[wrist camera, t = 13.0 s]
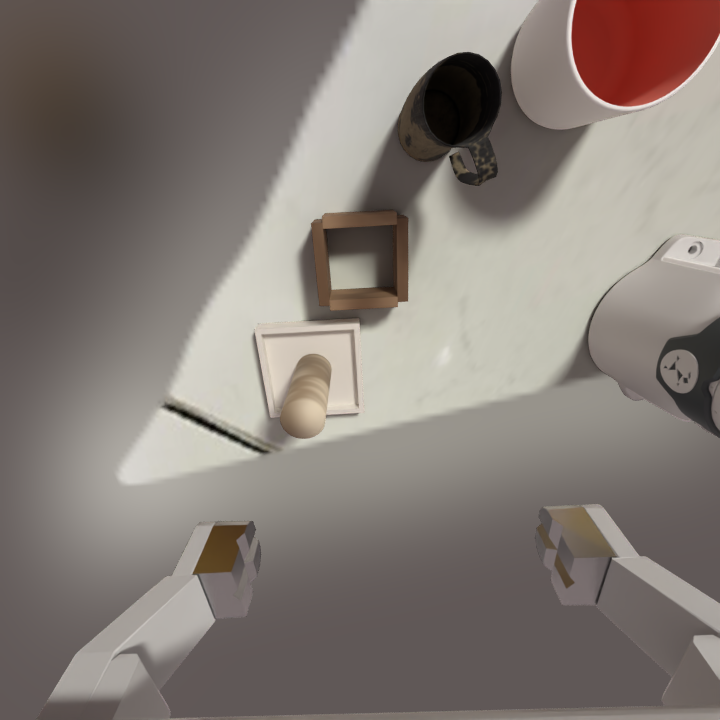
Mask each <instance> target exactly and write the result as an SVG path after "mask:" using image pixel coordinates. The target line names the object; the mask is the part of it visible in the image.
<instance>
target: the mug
mask: <svg viewBox="0 0 720 720" xmlns="http://www.w3.org/2000/svg"><path fill="white" fill-rule="evenodd" d="M501 94H502V91H501V85H500V79H499V77H498V75H497V72H496V70H495V68H494V67H493V66H492V65H491V63H490V62H489V61H488V60H487V59H485V58H483V57H482V56H480V55H479V54H475V53H471V52H463V53H457V54H454V55H452V56H449V57H447V58H445V59H443V60H442V61H440V62H438V63H437V64H436V65H434V66H433V67H432V68H431V69H429V70H428V71H427V72H426V73H425V74H424V75H423V76H422V77H421V78H420V80H419V81H418V82H417V84H416V85H415V86H414V87H413V89H412V91H411V92H410V94H409V96H408V97H407V99H406V102H405V104H404V106H403V109H402V111H401V113H400V116H399V121H398V136H399V140H400V143H401V145H402V147H403V149H404V150H405V151H406V152H407V153H408V154H409V155H410V156H411V157H412V158H414V159H416V160H419V161H424V162H427V161H434V160H437V159H439V158H441V157H443V156H444V155H445V154H447V153H448V152H449V151H450V150H451V148H456V147H460V148H469V150H470V152H471V155H472V157H473V160H474V163H475V166H476V169H477V172H478V174H474V173H471V172H469V171H468V170H467V169H466V168H465V166H464V164H463V161H462V158H461V156H460V153H459V151H458V152H457V153H455V154H453V155H451V156H449V158H450V161H451V164H452V167H453V171H454V173H455V175H456V177H457V178H458V179H459V180H460V181H461V182H463V183H466V184H469V185H475V186H479V185H481V184H482V183H483V182H485V181H486V180H489V179H491V178H494V177H496V176H497V173H498V169H497V162H496V158H495V155H494V152H493V149H492V146H491V143H490V141H489V139H488V135H489V133H490V131H491V129H492V126H493V124H494V122H495V120H496V118H497V116H498V113H499V109H500V106H501Z"/></svg>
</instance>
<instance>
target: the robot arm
mask: <svg viewBox="0 0 720 720" xmlns="http://www.w3.org/2000/svg"><path fill="white" fill-rule="evenodd" d="M690 247H691V250H690V251H689V252H688V250H689V248H690ZM588 344H589V350H590V354H591V357H592V359H593V361H594V363H595V364H596V365H597V367H598V368H599V369H600V370H601V371H602V372H604V373H605V374H607V375H608V376H610V377H612V378H613V379H614V380H616V381H617V382H618V384H619V387H620V388H621V390H622V392H623V393H624V395H625V396H627V397H629V398H630V399H632V400H643V399H645V400H647V401H649V402H650V403H652V404H654V405H655V406H657V407H659V408H660V409H662V410H664V411H666V412H667V413H669V414H671V415H673V416H674V417H676V418H678V419H680V420H682V421H686V422H689V421H691V420H692V421H694V423H695V424H697V425H698V426H699V427H701V428H702V429H704V430H705V431H707V432H710V433H711V434H713V435H716V436H717V437H719V438H720V240H716V239H710V238H703V237H697V236H691V235H684V234H679V235H675V236H673V237H672V238H670V239H669V240H668V241H667V242H666V243H665V244H664V245H663V246H662V247H661V248H660V249H659V250H658V251H657V252H656V254H655V255H654V256H653V257H652V258H651V259H650V260H649V261H648V262H646V263H645V264H643V265H642V266H640V267H639V268H637V269H635V270H634V271H632V272H631V273H629V274H628V275H626V276H625V277H624V278H622V279H621V280H620V281H619V282H618V283H617V284H616V285H615V286H614V287H613V288H612V289H611V290H610V291H609V292H608V293H607V294H606V296H605V297H604V298H603V300H602V301H601V303H600V304H599V306H598V308H597V310H596V312H595V314H594V316H593V318H592V321H591V325H590V329H589V336H588ZM539 519H540V520H541V523H542V524H541V525H539V526H538V527H537V528H536V536H535V539H536V547H537V550H538V554H539V556H540V559H541V561H542V563H543V565H544V566H546V567H547V568H548V569H549V570H551V571H552V576H551V582H552V584H553V587H554V588H555V591H556V593H557V595H558V597H559V599H560V601H561V603H562V605H597V606H596V607H597V608H598V609H599V610H600V611H601V612H602V613H603V614H604V615H605V616H607V617H608V618H609V619H610V620H611V621H612V622H613V623H614V624H615V625H616V626H617V627H618V628H619V629H620V630H622V631H623V632H624V633H625V634H626V635H627V636H628V637H629V638H630V639H631V640H632V641H634V643H635V644H637V645H638V646H639V647H640V648H641V649H642V650H643V651H644V652H645V653H646V654H647V655H648V656H650V657H651V658H652V659H653V660H654V661H655V662H656V663H657V664H658V665H659V666H660V667H661V668H662V669H663V670H664V671H665V672H667V673H668V674H669V675H670V676H671V677H672V678H671V680H670V682H669V684H668V686H667V688H666V690H665V692H664V694H663V697H662V699H661V700H662V702H663V704H664V706H643V707H605V708H604V707H603V708H602V707H601V708H565V709H564V708H561V709H524V710H481V711H442V712H405V713H403V712H402V713H366V714H365V713H364V714H324V715H286V716H247V717H211V718H210V717H208V718H172V719H171V718H169V717H170V714H171V712H170V710H169V707H168V705H167V704H166V702H165V700H164V698H163V697H162V695H161V693H160V692H159V690H160V689H161V688H162V686H163V685H164V684H165V683H166V682H167V680H168V679H169V678H170V677H171V675H172V674H173V673H174V671H175V670H176V669H177V668H178V666H179V665H180V664H181V663H182V662H183V660H184V659H185V658H186V656H187V655H188V654H189V653H190V651H191V650H192V649H193V648H194V647H195V645H196V644H197V643H198V642H199V640H200V639H201V638H202V637H203V635H204V634H205V633H206V632H207V630H208V629H209V628H210V626H211V625H212V624H213V623H214V622H215V619H219V618H233V617H246V615H247V612H248V609H249V605H250V601H251V598H252V594H253V590H252V587H251V582H252V581H253V580H254V579H255V578H256V577H257V575H258V571H259V567H260V559H261V549H260V544H259V540H257V539H256V538H255V537H254V534H255V530H256V529H255V526H254V523H253V521H223V522H222V521H221V522H200V523H199V524H198V525H197V526H196V527H195V529H194V531H193V533H192V535H191V537H190V539H189V541H188V543H187V545H186V547H185V549H184V551H183V553H182V555H181V558H180V559H179V561H178V564H177V565H176V567H175V569H174V572H173V574H172V576H166V577H165V578H163V579H162V580H161V581H160V582H159V583H157V584H156V585H155V586H154V587H153V588H152V589H151V590H149V591H148V592H147V593H146V594H145V595H144V596H143V597H141V598H140V599H139V600H138V601H137V602H135V603H134V604H133V605H132V606H131V607H130V608H128V609H127V610H126V611H125V612H124V613H123V614H122V615H121V616H119V617H118V618H117V619H116V620H115V621H114V622H112V623H111V624H110V625H109V626H108V627H106V628H105V629H104V630H103V631H102V632H101V633H100V634H98V635H97V636H96V637H95V638H94V639H92V640H91V641H90V642H89V643H88V644H87V645H86V646H84V647H83V648H82V649H81V650H80V651H79V652H77V653H76V655H75V656H74V658H73V660H72V661H71V663H70V665H69V666H68V668H67V670H66V671H65V673H64V674H63V676H62V678H61V679H60V681H59V683H58V684H57V686H56V687H55V689H54V691H53V693H52V694H51V696H50V697H49V699H48V701H47V702H46V704H45V706H44V707H43V709H42V710H41V712H40V714H39V716H38V717H37V719H36V720H720V604H719V603H718V602H716V601H715V600H713V599H712V598H710V597H709V596H707V595H705V594H704V593H702V592H701V591H699V590H698V589H696V588H694V587H693V586H691V585H690V584H688V583H686V582H685V581H683V580H682V579H680V578H679V577H677V576H675V575H674V574H672V573H671V572H669V571H668V570H666V569H665V568H663V567H661V566H660V565H658V564H657V563H655V562H654V561H652V560H650V559H649V558H647V557H640V556H639V555H638V554H637V552H636V551H635V550H634V548H633V547H632V546H631V544H630V543H629V541H628V540H627V539H626V538H625V536H624V535H623V533H622V532H621V531H620V529H619V528H618V527H617V525H616V524H615V523H614V522H613V520H612V519H611V517H610V516H609V515H608V513H607V512H606V511H605V509H604V508H603V507H602V506H600V505H599V504H590V505H567V506H550V507H542V508H541V510H540V512H539Z"/></svg>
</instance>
